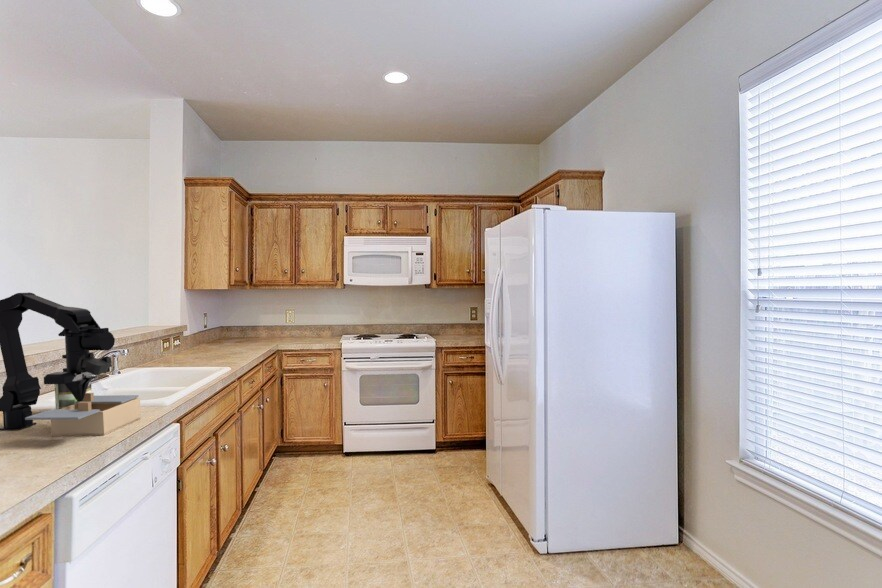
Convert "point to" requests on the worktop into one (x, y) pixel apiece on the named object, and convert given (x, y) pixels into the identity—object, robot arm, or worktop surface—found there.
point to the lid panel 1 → (66, 413)
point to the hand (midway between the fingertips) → (80, 401)
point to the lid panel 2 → (106, 398)
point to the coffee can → (66, 395)
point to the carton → (98, 419)
